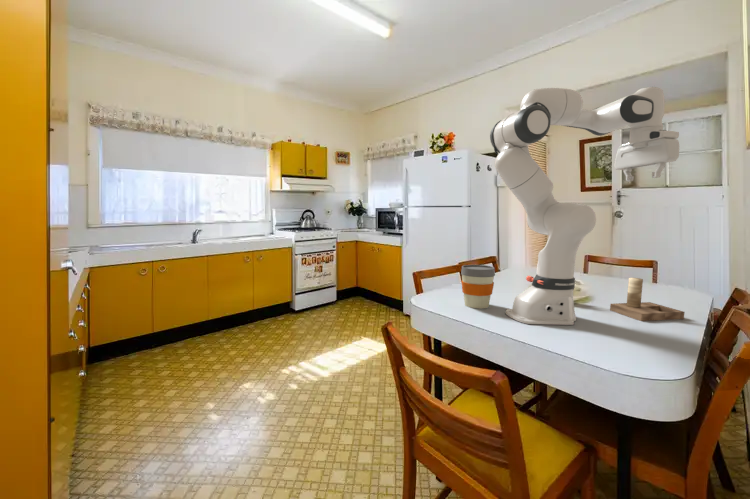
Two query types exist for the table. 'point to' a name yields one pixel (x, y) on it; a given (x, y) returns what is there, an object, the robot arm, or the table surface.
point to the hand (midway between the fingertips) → (642, 179)
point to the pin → (634, 292)
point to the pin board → (647, 311)
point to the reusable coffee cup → (477, 285)
